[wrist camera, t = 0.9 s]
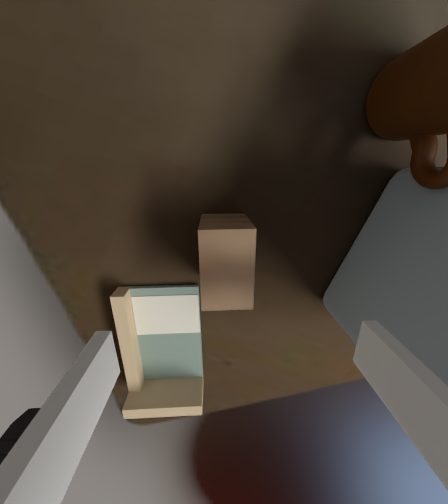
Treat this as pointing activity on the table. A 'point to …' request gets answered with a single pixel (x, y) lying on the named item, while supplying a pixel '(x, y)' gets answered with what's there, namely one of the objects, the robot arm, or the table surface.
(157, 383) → the toy stand
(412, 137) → the mug
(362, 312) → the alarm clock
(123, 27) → the table surface
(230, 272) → the block
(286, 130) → the table surface
